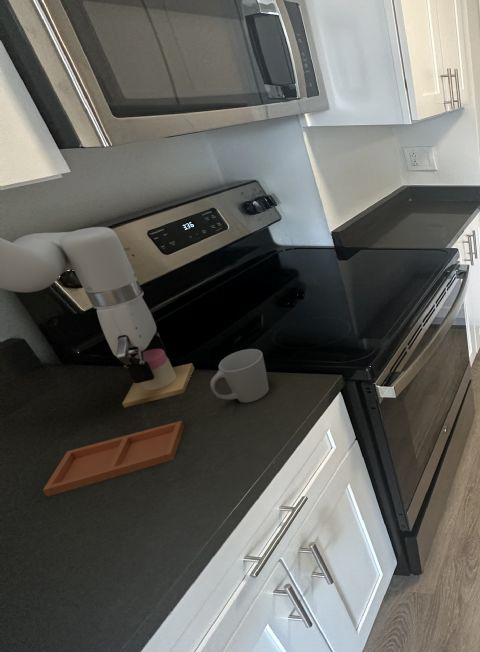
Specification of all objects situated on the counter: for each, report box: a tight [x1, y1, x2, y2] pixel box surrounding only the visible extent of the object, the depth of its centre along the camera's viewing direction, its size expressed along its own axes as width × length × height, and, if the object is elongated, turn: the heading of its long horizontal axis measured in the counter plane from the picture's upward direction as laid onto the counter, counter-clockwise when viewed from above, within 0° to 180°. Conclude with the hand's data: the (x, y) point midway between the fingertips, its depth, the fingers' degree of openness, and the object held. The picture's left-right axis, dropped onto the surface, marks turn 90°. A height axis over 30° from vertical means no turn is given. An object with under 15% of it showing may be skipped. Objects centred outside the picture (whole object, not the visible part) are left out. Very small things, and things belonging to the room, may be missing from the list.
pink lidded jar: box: [134, 349, 176, 390], centre depth 89 cm, size 6×6×6 cm
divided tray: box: [42, 420, 185, 498], centre depth 72 cm, size 16×9×2 cm, turn 115°
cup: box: [210, 348, 270, 403], centre depth 85 cm, size 8×10×8 cm
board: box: [122, 362, 195, 408], centre depth 90 cm, size 10×10×2 cm
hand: (151, 367), depth 88 cm, fingers open, 9 cm apart
